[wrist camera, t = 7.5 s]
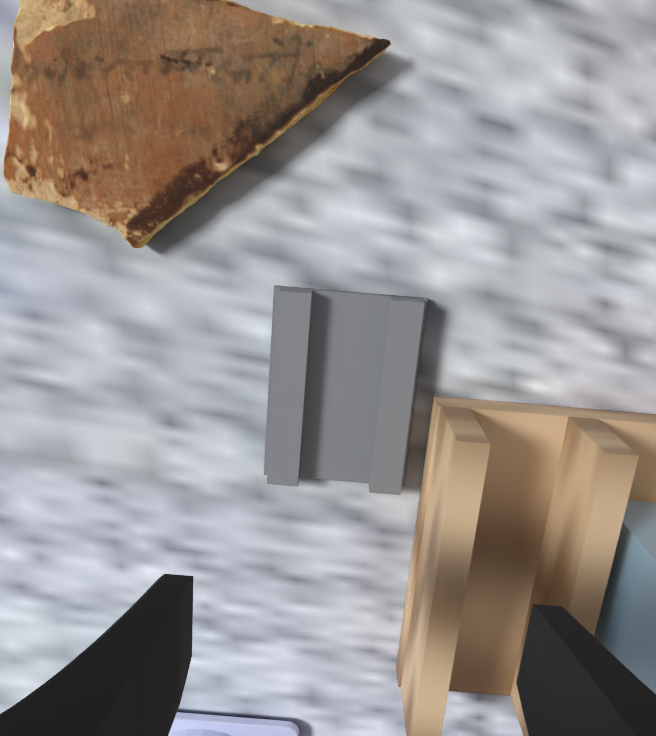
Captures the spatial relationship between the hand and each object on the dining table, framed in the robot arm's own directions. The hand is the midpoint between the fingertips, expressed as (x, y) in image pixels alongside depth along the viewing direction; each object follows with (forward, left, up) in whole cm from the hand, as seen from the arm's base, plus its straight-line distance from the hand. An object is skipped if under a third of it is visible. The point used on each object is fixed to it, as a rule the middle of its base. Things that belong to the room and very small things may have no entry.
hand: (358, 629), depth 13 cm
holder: (+2, 0, -10) cm, 10 cm away
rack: (-4, -10, -10) cm, 15 cm away
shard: (+12, +7, -11) cm, 18 cm away
